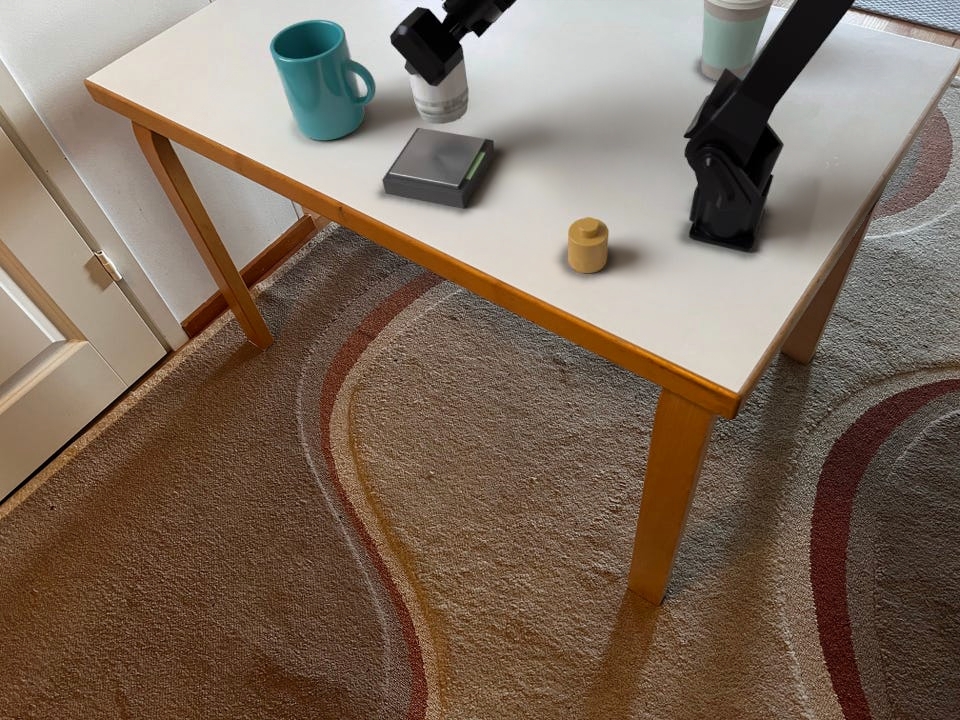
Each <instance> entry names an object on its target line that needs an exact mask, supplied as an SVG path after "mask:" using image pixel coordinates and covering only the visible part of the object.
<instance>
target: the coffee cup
mask: <svg viewBox="0 0 960 720" xmlns="http://www.w3.org/2000/svg"><path fill="white" fill-rule="evenodd" d="M773 2H774V0H703V16H702V17H703V18H702V38H701V39H702V40H701V41H702V42H701V67H700V68H701V72H702V74H703V75H704V76H705V77H707V78H708V79H711V80H713V81H716V82H717V81H718V79H719V78H720V76H721V74H722V73H723V71H724V69H725V68H727V69H728V70H729V71H731V72H732V73H733V74H734V75H736V76H738V75H739V74H741V73H742V72H743V71H745V70H746V69H747V68H748V67H749V66H750V65H751V64H752V63H753V60H754V59H753V58H754V56H755V53H756V50H757V48H758V45H759V42H760V39H761V36H762V33H763V31H764V28H765V25H766V22H767V19H768V16H769V13H770V11H771V8H772V6H773Z"/></svg>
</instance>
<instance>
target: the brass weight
mask: <svg viewBox="0 0 960 720" xmlns="http://www.w3.org/2000/svg"><path fill="white" fill-rule="evenodd" d="M567 230H568V232H567V262H568V265H569V266H570V268H572V269H573V270H574V271H575V272H578V273H581V274H594V273H596V272H599V271H600V270H602V269H603V268H604V267H605V266H606V264H607V263H608V262H607V261H608V248H609V234H610V231H609V227H608V226H607V225H606V223H605V222H603V221H602V220H600V219H597V218H595V217H590V216H589V217H583V218H580V219H577V220H576V221H574V222H573V223H571V225H569V228H568V229H567Z"/></svg>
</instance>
